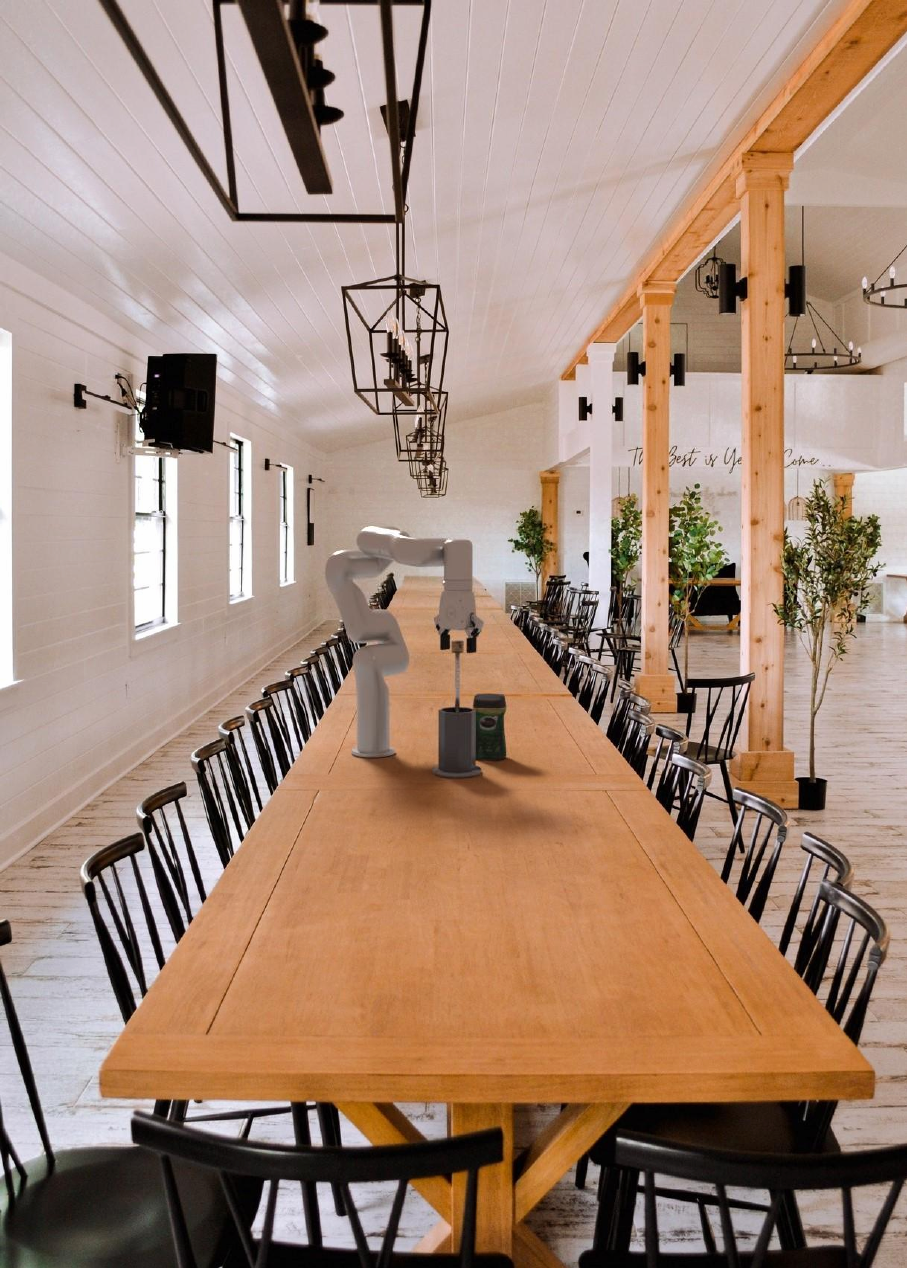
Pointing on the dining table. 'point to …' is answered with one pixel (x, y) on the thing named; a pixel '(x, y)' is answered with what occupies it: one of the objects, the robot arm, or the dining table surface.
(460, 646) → the plunger
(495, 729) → the coffee jar
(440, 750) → the press carafe
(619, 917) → the dining table surface
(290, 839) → the dining table surface
